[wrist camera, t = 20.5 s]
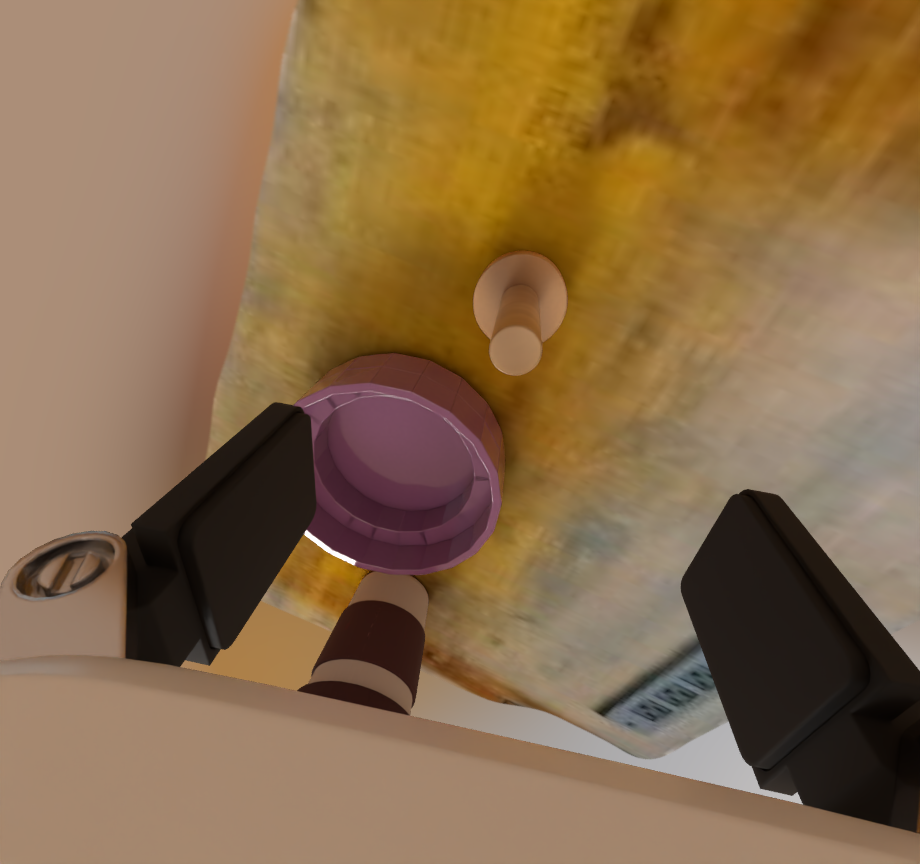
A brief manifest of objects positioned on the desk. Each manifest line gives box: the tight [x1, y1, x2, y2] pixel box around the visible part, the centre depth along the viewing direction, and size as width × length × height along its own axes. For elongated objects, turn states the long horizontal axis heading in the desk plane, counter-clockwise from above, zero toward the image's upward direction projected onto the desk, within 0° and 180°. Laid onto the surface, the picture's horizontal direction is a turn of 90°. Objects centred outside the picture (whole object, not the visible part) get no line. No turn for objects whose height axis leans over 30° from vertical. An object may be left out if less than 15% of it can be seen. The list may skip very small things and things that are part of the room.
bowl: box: [294, 353, 506, 575], centre depth 32 cm, size 16×16×6 cm
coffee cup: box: [298, 571, 429, 716], centre depth 37 cm, size 10×10×15 cm
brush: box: [473, 250, 568, 376], centre depth 22 cm, size 5×5×11 cm
